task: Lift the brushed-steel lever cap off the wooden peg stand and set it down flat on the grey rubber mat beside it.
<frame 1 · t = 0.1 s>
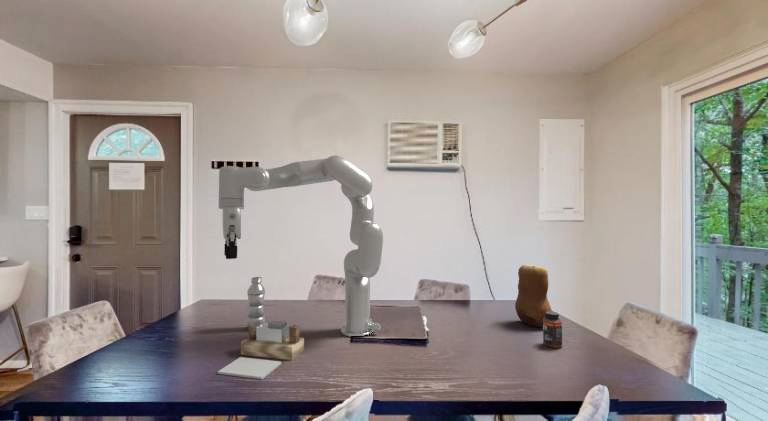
hand: (230, 256, 108), 31 cm above the table, tool pointing down, fingers open, 9 cm apart
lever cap: (273, 339, 109), point 4 cm above the table, touching wooden peg stand
wooden peg stand: (273, 352, 109), on the table
plastic bottle: (256, 329, 131), on the table
mat: (250, 368, 97), on the table
butternut squash: (532, 325, 138), on the table
supplement bottle: (552, 346, 116), on the table
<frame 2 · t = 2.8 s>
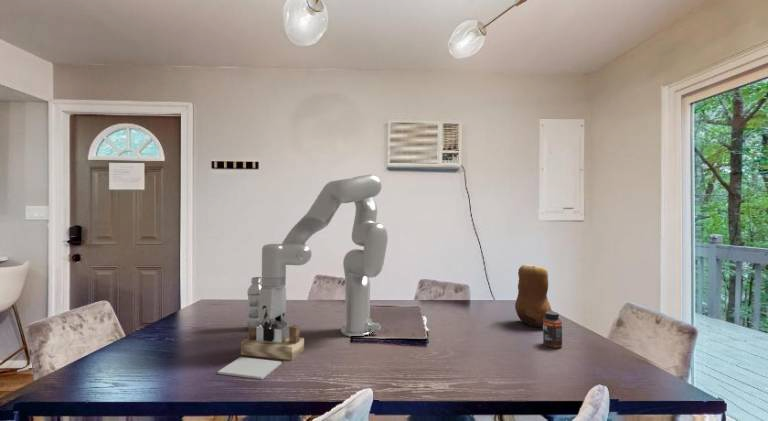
hand: (273, 337, 109), 5 cm above the table, tool pointing down, fingers closed on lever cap, 5 cm apart
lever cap: (273, 339, 109), point 4 cm above the table, touching gripper, wooden peg stand
everything else where it was.
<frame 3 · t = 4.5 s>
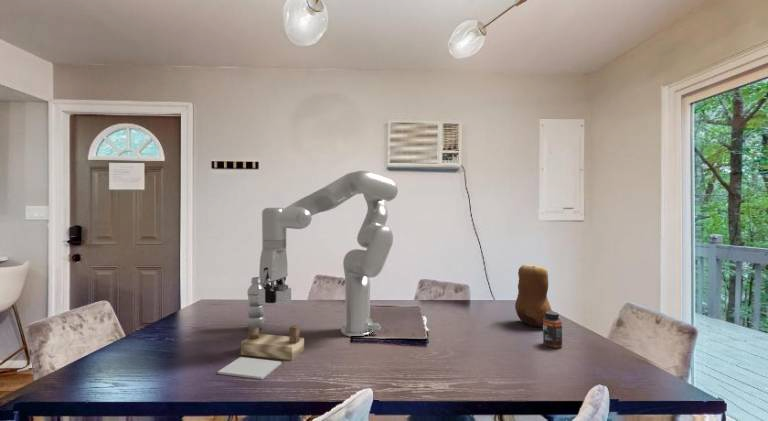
hand: (274, 299, 109), 17 cm above the table, tool pointing down, fingers closed on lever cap, 5 cm apart
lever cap: (274, 302, 109), point 16 cm above the table, touching gripper
everything else where it was.
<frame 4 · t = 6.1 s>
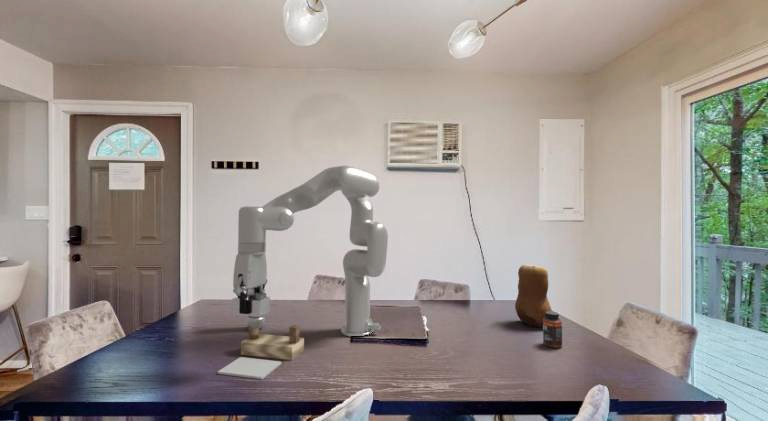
hand: (251, 310, 97), 17 cm above the table, tool pointing down, fingers closed on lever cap, 5 cm apart
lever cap: (250, 313, 97), point 16 cm above the table, touching gripper
everything else where it was.
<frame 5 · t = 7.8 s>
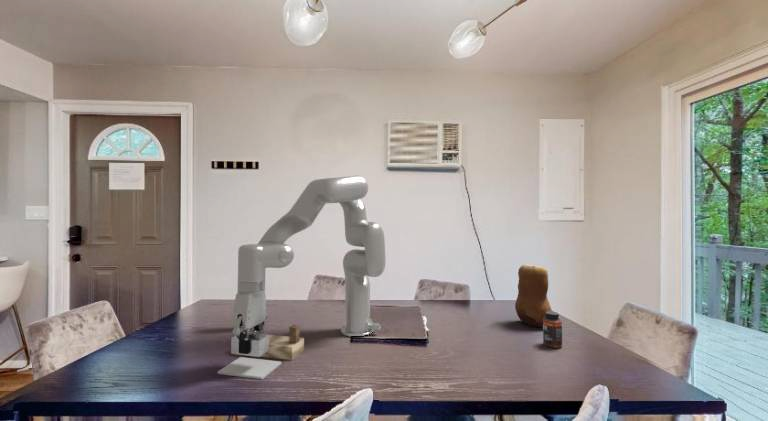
hand: (250, 348, 97), 6 cm above the table, tool pointing down, fingers closed on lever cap, 5 cm apart
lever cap: (250, 351, 97), point 5 cm above the table, touching gripper
everything else where it was.
when the fingers open (3 cm above the table, at t = 9.2 s): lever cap drops 2 cm, resting on mat.
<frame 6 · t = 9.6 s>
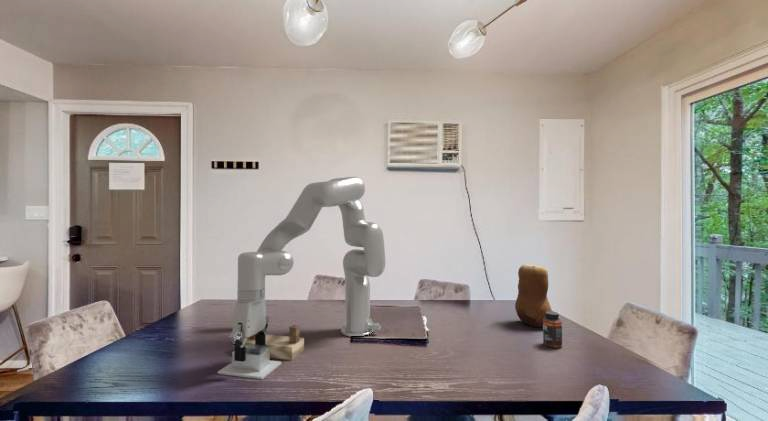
hand: (250, 353, 97), 4 cm above the table, tool pointing down, fingers open, 9 cm apart
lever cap: (250, 366, 97), point 1 cm above the table, touching mat
everything else where it was.
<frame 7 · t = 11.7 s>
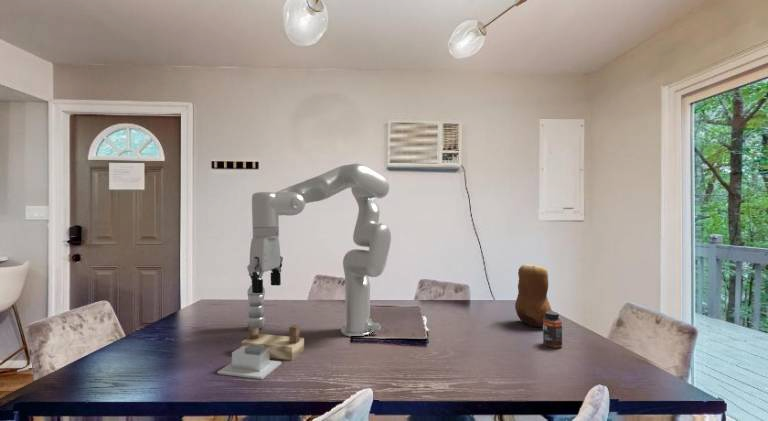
hand: (267, 288, 101), 22 cm above the table, tool pointing down, fingers open, 9 cm apart
nothing on the table moved.
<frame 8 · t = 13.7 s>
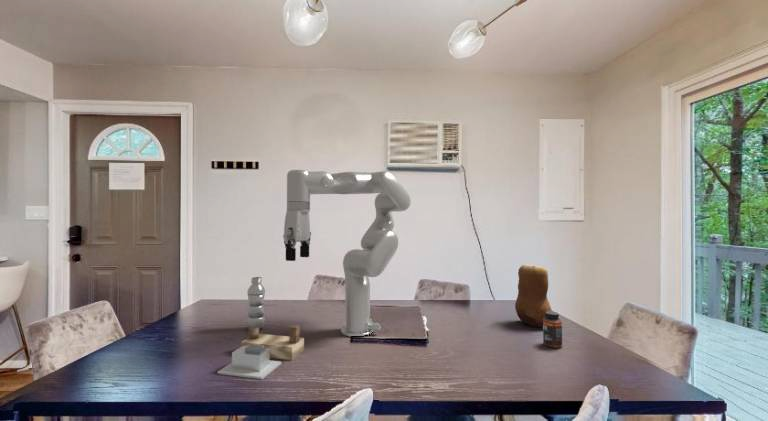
hand: (297, 258, 111), 30 cm above the table, tool pointing down, fingers open, 9 cm apart
nothing on the table moved.
at the end: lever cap inside the target area on the mat (0.2 cm from its centre), point 0.6 cm above the mat's base; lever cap tilted 0°; the gripper is holding nothing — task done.
